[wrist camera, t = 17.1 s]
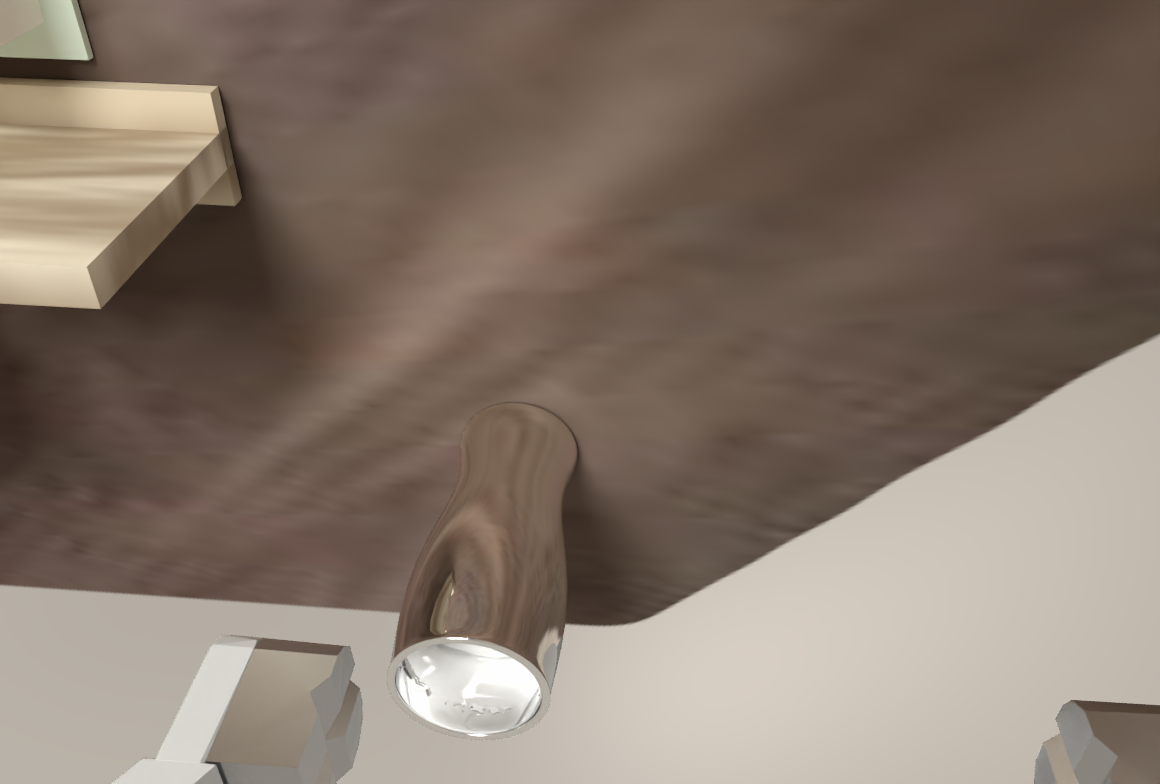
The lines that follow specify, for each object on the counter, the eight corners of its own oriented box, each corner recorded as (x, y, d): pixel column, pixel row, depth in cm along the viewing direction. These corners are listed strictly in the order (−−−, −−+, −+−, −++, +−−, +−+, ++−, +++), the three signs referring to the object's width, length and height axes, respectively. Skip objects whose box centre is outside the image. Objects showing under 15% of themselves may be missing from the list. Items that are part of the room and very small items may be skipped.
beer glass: (432, 463, 51) (355, 704, 40) (487, 372, 48) (421, 610, 36) (547, 515, 53) (508, 763, 41) (611, 432, 49) (587, 679, 37)
